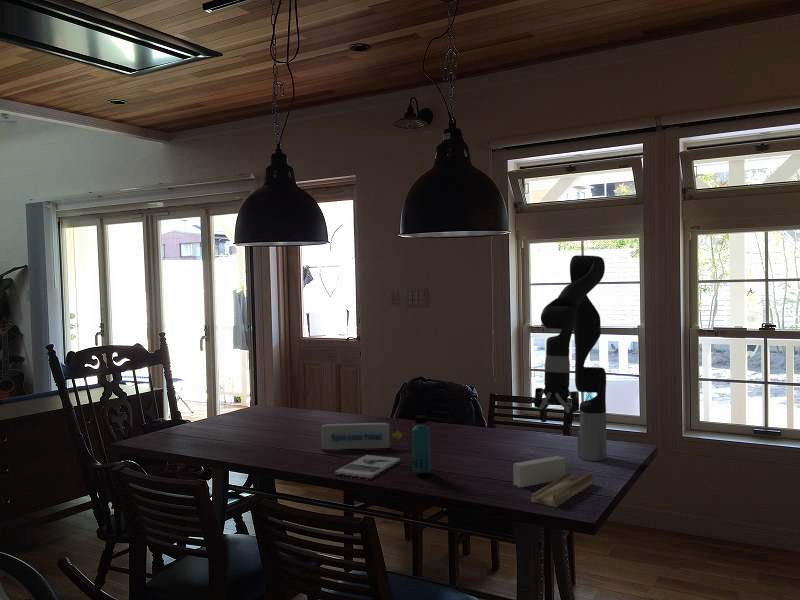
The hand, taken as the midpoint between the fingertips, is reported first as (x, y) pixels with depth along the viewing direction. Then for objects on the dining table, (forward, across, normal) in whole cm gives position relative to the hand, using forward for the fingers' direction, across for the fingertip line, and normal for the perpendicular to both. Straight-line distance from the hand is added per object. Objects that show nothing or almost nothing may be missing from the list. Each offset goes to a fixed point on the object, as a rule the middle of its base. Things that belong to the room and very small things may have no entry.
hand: (555, 423), depth 198 cm
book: (+23, +64, +18) cm, 70 cm away
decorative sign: (+21, +86, +1) cm, 88 cm away
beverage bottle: (+22, +44, +11) cm, 51 cm away
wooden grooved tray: (+21, -1, -3) cm, 21 cm away
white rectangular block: (+21, +10, -8) cm, 24 cm away
